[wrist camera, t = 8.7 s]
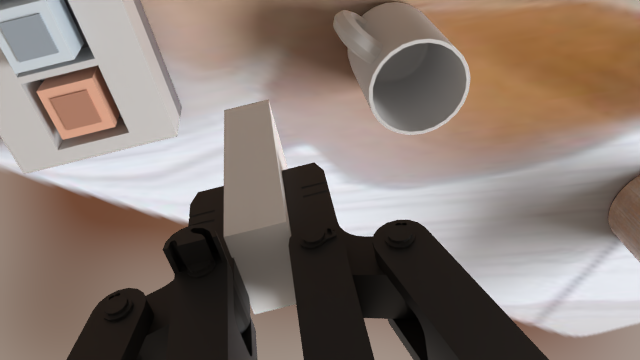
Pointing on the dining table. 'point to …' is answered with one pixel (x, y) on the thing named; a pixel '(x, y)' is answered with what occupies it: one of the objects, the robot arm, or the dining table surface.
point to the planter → (627, 216)
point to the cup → (404, 67)
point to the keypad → (122, 80)
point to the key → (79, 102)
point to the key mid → (37, 33)
